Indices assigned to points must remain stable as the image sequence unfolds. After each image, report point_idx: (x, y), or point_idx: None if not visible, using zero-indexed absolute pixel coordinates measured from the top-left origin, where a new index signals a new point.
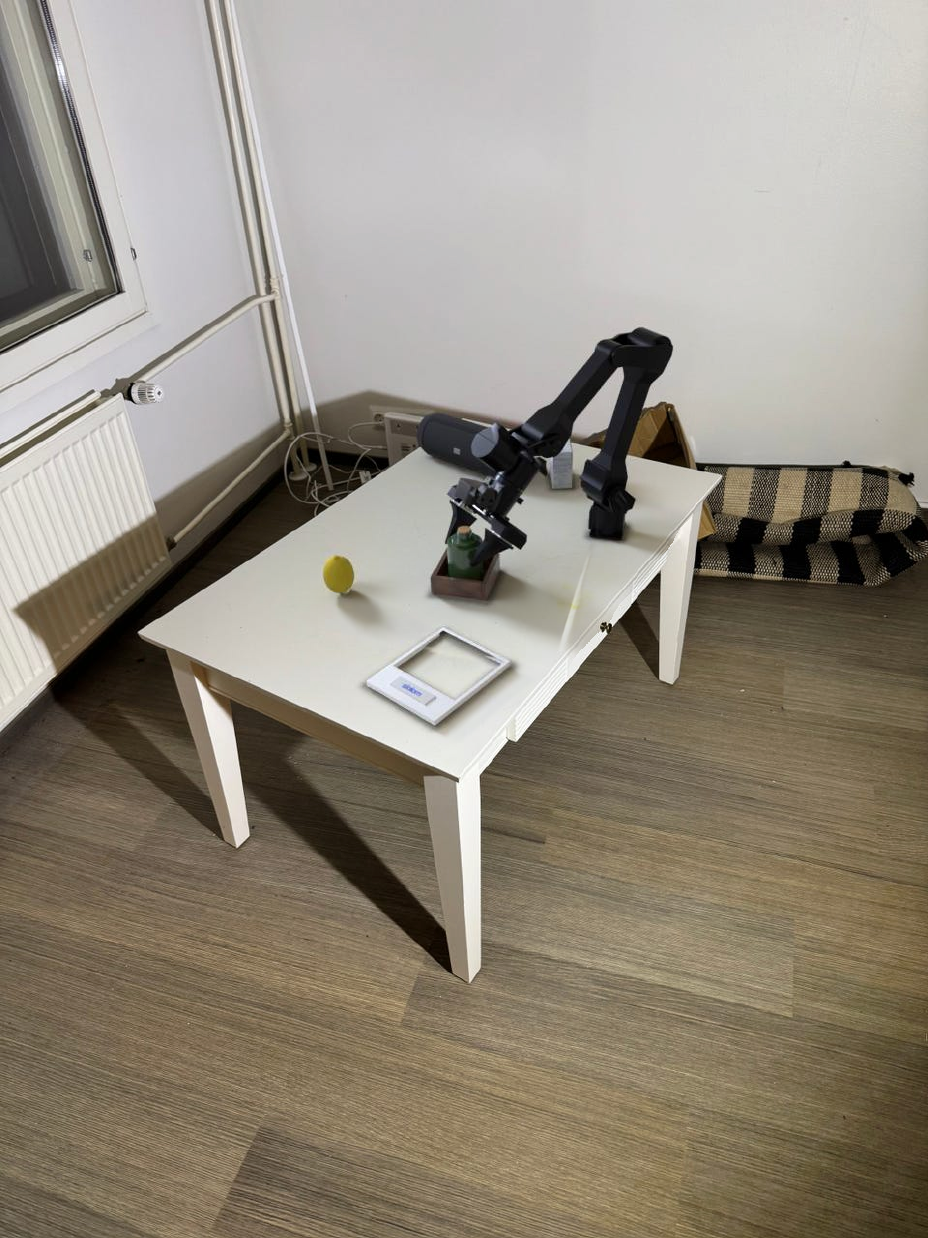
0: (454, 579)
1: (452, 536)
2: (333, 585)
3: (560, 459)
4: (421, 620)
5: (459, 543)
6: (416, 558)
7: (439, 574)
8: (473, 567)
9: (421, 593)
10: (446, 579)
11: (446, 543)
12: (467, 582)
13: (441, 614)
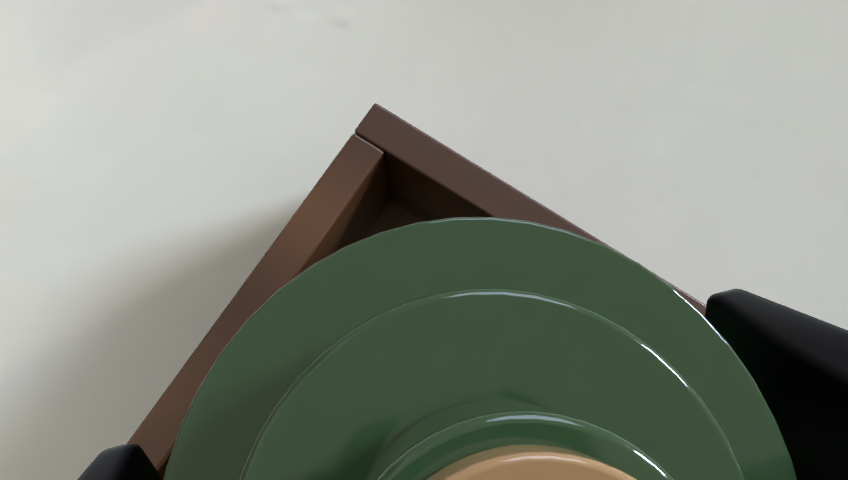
0: (258, 281)
1: (620, 332)
2: None
3: None
4: (159, 47)
5: (318, 386)
6: (844, 192)
7: (459, 215)
8: None
9: (430, 117)
10: (293, 217)
11: (713, 305)
12: (171, 383)
13: (163, 169)
